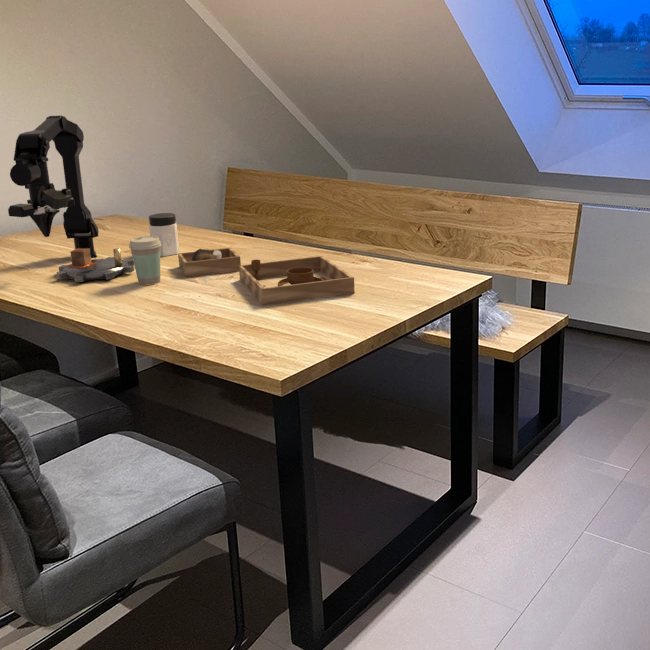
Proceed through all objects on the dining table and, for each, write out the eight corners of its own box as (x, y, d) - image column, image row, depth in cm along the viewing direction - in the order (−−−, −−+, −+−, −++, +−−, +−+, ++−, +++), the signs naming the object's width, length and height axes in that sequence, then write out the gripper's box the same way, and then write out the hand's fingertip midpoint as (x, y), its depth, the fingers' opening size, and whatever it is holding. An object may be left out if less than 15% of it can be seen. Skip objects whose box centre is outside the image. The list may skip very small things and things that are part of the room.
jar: (157, 257, 244) (153, 219, 241) (147, 253, 251) (143, 215, 247) (184, 253, 249) (180, 215, 245) (174, 248, 256) (170, 211, 252)
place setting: (278, 299, 199) (277, 276, 197) (248, 281, 216) (246, 260, 214) (340, 288, 206) (339, 266, 205) (306, 272, 223) (305, 251, 222)
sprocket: (42, 281, 220) (38, 258, 218) (78, 261, 240) (75, 240, 238) (116, 282, 216) (113, 258, 214) (147, 262, 236) (144, 240, 234)
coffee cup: (154, 276, 223) (149, 234, 220) (171, 281, 217) (166, 238, 214) (127, 282, 218) (122, 239, 214) (144, 288, 212) (139, 244, 208)
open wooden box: (179, 266, 233) (178, 253, 231) (231, 260, 237) (230, 247, 236) (186, 277, 221) (184, 263, 220) (241, 270, 226) (240, 256, 224)
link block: (72, 265, 229) (70, 251, 227) (78, 261, 232) (76, 247, 231) (85, 265, 228) (83, 251, 227) (91, 261, 232) (89, 248, 230)
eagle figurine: (193, 262, 232) (185, 264, 223) (206, 241, 231) (198, 242, 222) (215, 276, 232) (208, 279, 223) (228, 255, 231) (221, 257, 222)
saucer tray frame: (239, 279, 216) (238, 265, 215) (322, 269, 223) (321, 255, 222) (263, 305, 193) (262, 289, 192) (354, 293, 200) (354, 277, 198)
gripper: (31, 186, 205) (41, 246, 210) (85, 176, 221) (92, 232, 226) (2, 185, 211) (12, 243, 216) (56, 175, 226) (64, 229, 231)
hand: (46, 236), depth 222 cm, fingers closed
